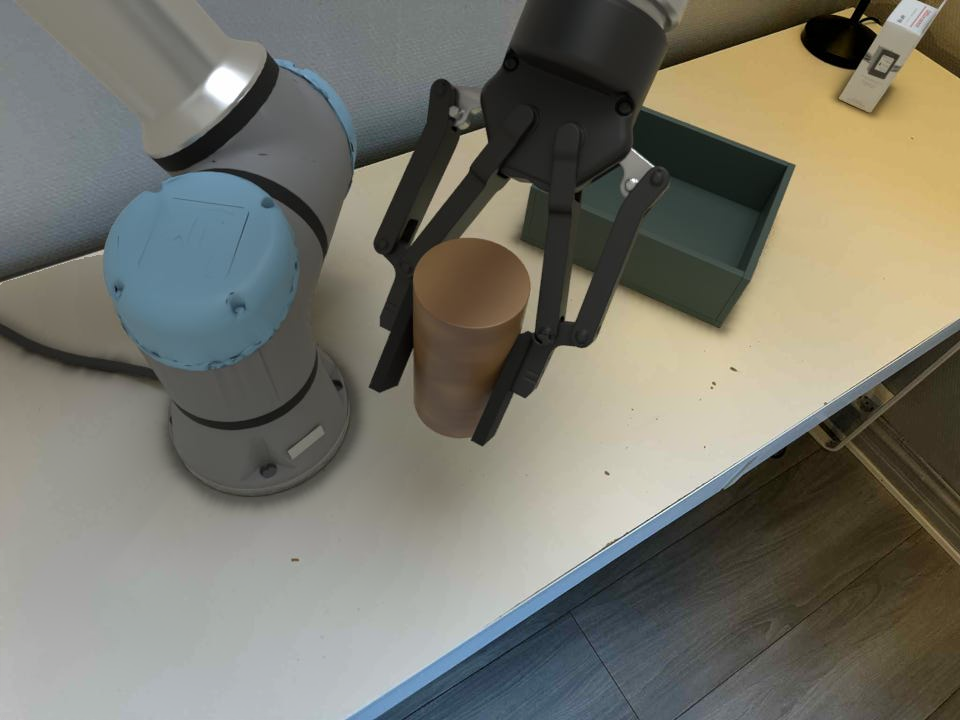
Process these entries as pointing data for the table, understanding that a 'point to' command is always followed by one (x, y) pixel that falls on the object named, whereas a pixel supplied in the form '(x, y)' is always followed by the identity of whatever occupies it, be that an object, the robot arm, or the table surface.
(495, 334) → the cardboard tube
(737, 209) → the bin
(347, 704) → the table surface
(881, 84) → the ink box
